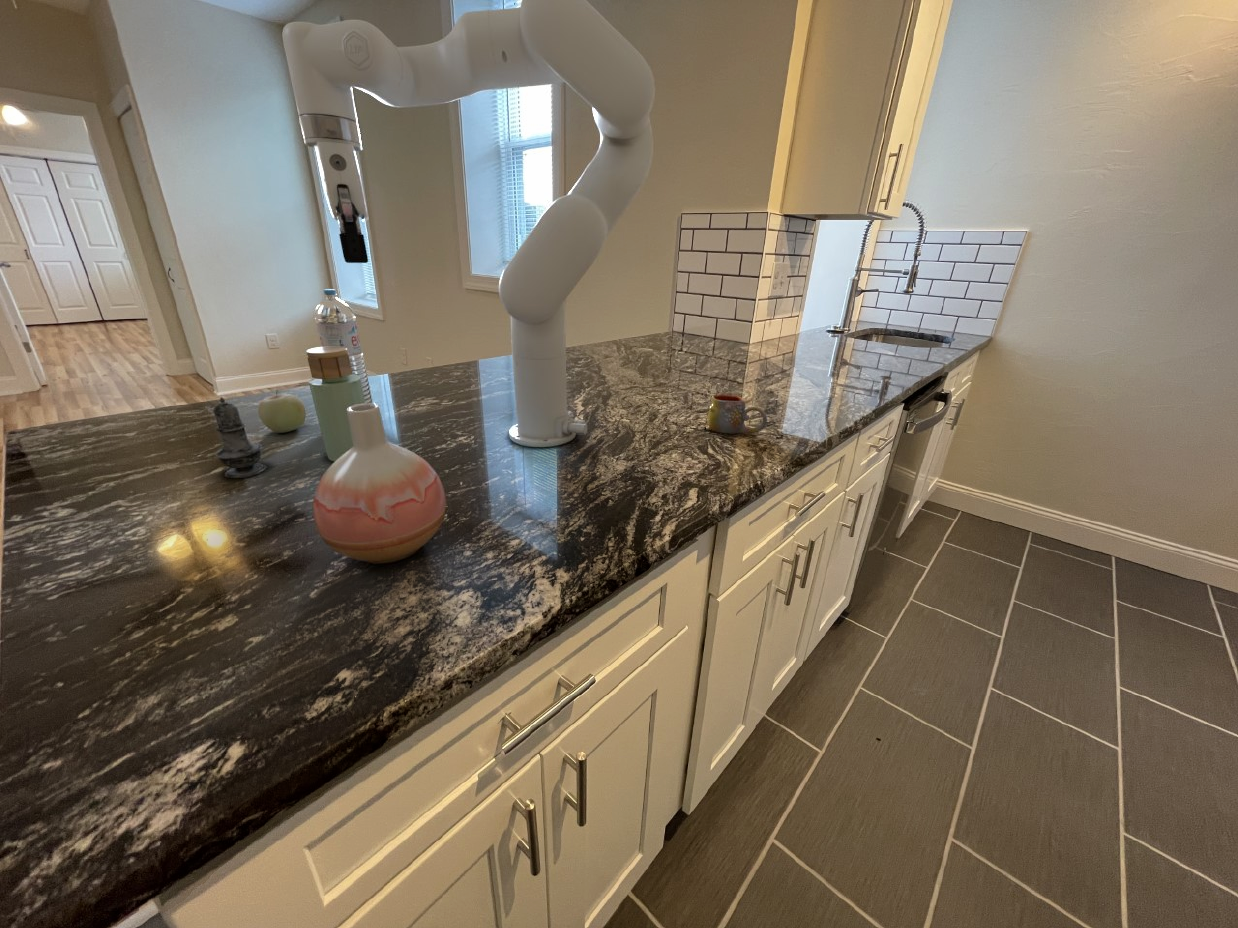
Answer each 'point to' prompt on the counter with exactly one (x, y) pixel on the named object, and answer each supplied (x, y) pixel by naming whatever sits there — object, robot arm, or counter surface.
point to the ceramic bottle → (336, 411)
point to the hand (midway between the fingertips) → (355, 261)
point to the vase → (377, 496)
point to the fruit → (282, 412)
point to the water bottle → (342, 334)
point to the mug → (731, 415)
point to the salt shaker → (236, 443)
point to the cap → (329, 362)
